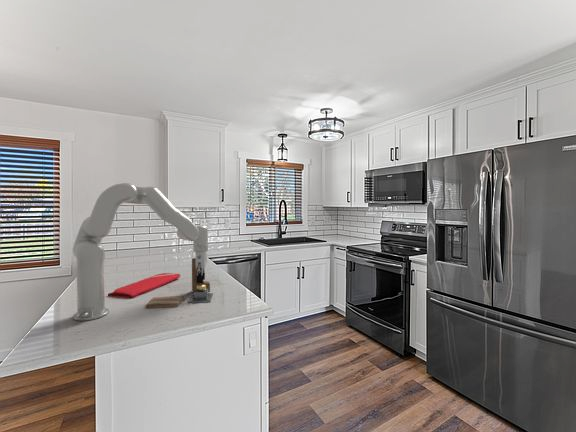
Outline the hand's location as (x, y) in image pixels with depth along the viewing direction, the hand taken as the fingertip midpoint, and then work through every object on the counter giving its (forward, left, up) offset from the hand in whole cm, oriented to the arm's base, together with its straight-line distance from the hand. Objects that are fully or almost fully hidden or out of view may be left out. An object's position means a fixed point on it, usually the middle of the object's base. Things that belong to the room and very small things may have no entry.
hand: (200, 281), depth 158 cm
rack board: (-18, +14, -6) cm, 23 cm away
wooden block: (0, 0, -6) cm, 6 cm away
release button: (-13, -2, -1) cm, 13 cm away
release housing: (-13, -2, -6) cm, 14 cm away
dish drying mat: (+14, +31, -6) cm, 35 cm away
